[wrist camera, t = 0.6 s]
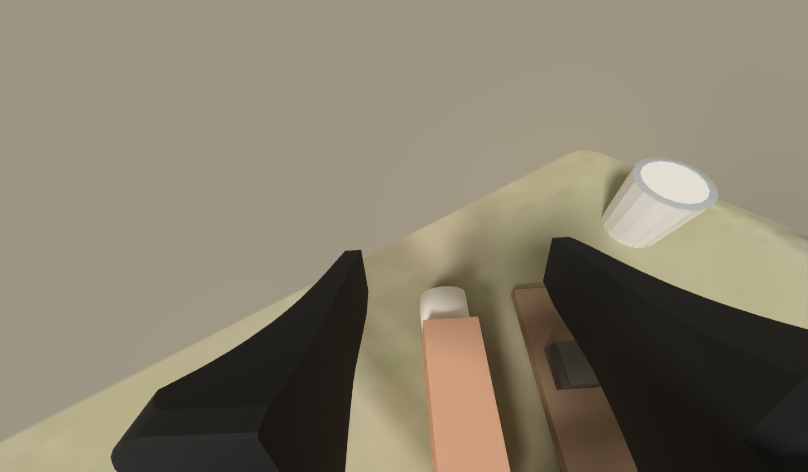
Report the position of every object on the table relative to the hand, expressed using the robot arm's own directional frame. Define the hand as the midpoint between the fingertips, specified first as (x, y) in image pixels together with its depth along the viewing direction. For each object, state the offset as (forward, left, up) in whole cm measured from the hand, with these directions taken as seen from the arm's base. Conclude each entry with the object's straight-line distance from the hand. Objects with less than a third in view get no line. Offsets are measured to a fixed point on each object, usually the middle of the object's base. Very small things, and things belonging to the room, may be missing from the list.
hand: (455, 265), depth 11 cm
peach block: (-3, -1, -17) cm, 17 cm away
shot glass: (+13, -23, -17) cm, 31 cm away
